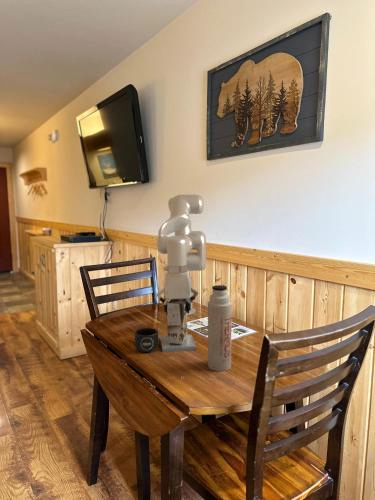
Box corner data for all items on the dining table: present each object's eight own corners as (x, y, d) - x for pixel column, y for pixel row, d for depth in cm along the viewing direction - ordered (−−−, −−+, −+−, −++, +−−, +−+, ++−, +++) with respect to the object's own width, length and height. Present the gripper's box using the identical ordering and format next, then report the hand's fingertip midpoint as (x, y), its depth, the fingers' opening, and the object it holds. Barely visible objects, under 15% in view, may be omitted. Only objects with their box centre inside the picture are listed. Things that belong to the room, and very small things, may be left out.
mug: (159, 353, 129) (158, 335, 129) (135, 355, 128) (134, 336, 127) (156, 341, 141) (156, 324, 140) (134, 342, 140) (134, 325, 139)
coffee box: (183, 344, 133) (182, 303, 131) (167, 343, 134) (166, 302, 132) (187, 335, 141) (187, 297, 139) (172, 334, 143) (172, 296, 141)
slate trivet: (160, 339, 143) (160, 336, 143) (191, 337, 145) (191, 334, 145) (162, 351, 130) (162, 348, 130) (196, 349, 132) (196, 346, 132)
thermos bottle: (235, 368, 117) (236, 287, 113) (214, 372, 114) (214, 290, 110) (223, 358, 124) (224, 282, 121) (203, 363, 121) (203, 285, 117)
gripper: (155, 272, 129) (156, 317, 131) (200, 270, 132) (200, 314, 134) (154, 268, 137) (154, 311, 139) (197, 267, 139) (197, 309, 141)
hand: (177, 312), depth 136 cm, fingers closed on coffee box, 7 cm apart
